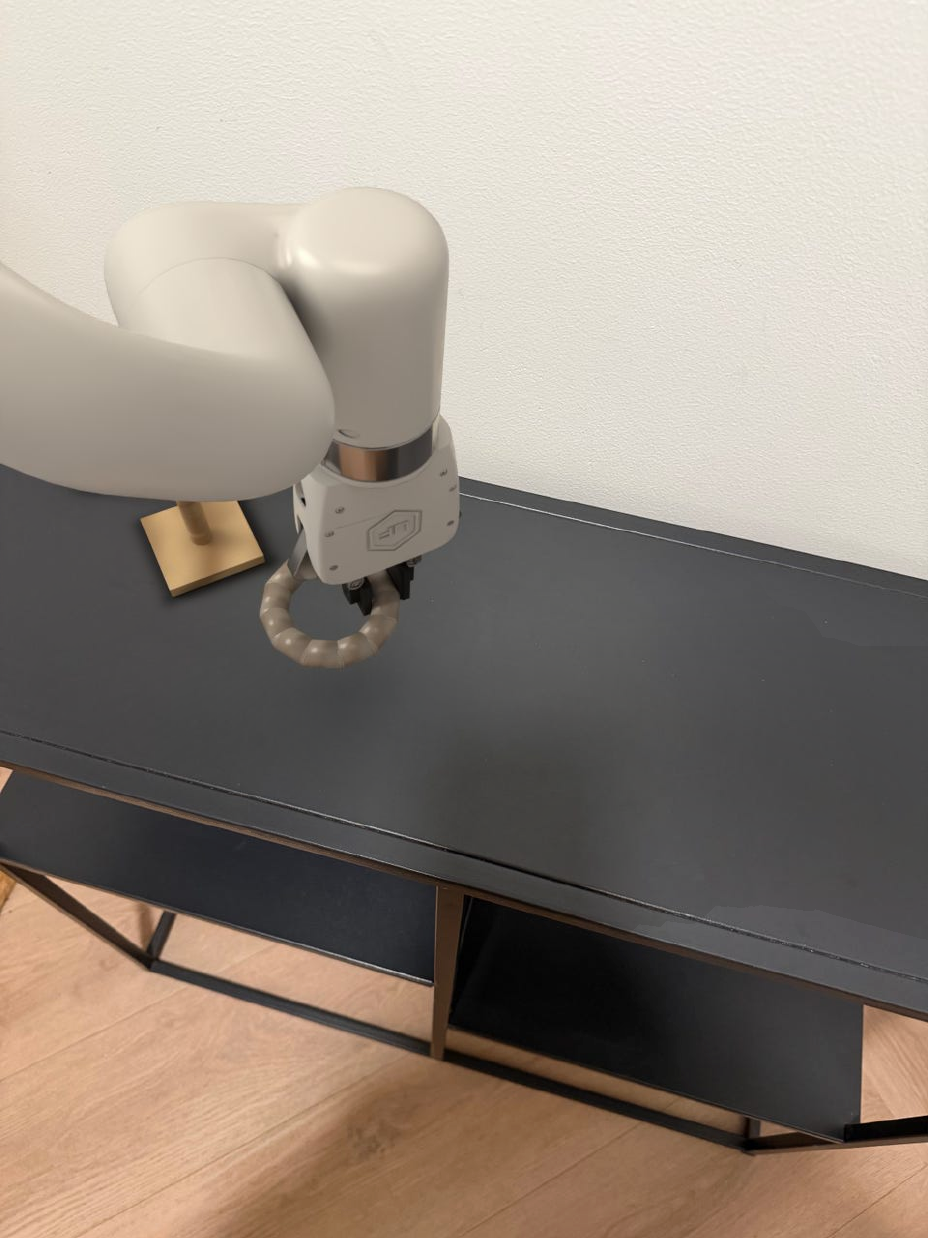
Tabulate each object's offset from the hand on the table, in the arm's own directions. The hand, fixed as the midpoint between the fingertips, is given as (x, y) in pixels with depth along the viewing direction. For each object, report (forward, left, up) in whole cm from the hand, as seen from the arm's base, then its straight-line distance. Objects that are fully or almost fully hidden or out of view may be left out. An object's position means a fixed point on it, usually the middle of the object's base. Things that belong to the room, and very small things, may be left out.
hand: (378, 591), depth 63 cm
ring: (-4, 0, +1) cm, 4 cm away
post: (-10, +20, -14) cm, 26 cm away
